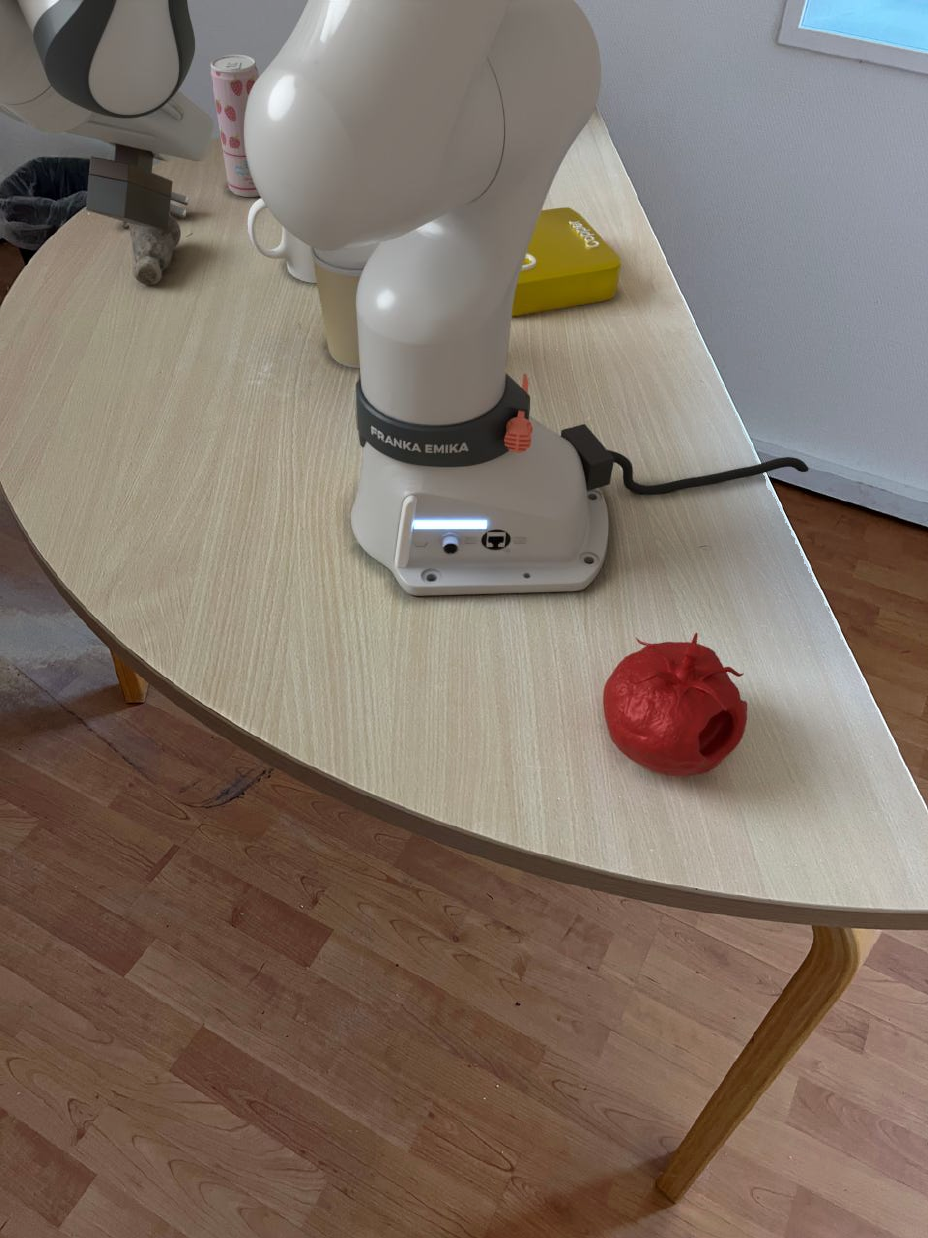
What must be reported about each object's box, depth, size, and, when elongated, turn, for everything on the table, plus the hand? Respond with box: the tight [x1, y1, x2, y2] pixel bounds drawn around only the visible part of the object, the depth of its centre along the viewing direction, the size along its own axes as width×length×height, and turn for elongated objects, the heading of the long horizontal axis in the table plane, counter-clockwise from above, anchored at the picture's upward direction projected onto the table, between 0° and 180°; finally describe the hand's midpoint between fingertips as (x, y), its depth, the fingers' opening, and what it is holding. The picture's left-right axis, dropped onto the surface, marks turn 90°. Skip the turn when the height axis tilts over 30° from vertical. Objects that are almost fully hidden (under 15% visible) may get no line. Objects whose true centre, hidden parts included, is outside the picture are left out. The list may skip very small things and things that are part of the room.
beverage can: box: [210, 54, 261, 198], centre depth 116 cm, size 6×6×15 cm
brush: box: [85, 144, 174, 231], centre depth 84 cm, size 7×4×14 cm
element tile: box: [512, 206, 622, 317], centre depth 107 cm, size 15×15×5 cm
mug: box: [247, 197, 317, 284], centre depth 105 cm, size 12×8×10 cm
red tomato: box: [602, 632, 748, 777], centre depth 64 cm, size 10×10×9 cm
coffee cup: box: [311, 242, 380, 370], centre depth 94 cm, size 9×9×12 cm
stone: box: [128, 213, 182, 286], centre depth 107 cm, size 10×5×8 cm
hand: (147, 148), depth 86 cm, fingers closed on brush, 2 cm apart
